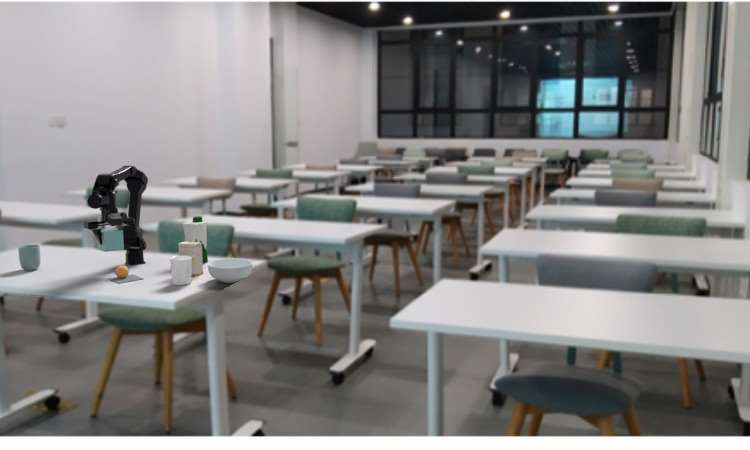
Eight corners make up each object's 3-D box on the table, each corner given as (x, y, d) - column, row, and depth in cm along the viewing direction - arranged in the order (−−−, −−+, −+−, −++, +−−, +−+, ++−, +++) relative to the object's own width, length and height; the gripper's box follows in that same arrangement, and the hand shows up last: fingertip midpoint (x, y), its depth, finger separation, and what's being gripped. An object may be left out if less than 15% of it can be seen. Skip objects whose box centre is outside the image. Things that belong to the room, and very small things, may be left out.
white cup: (173, 280, 256) (172, 255, 254) (194, 280, 256) (193, 255, 255) (169, 285, 248) (168, 260, 246) (190, 285, 249) (189, 259, 247)
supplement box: (203, 273, 268) (202, 242, 266) (196, 276, 263) (195, 244, 261) (186, 271, 271) (185, 240, 268) (179, 274, 266) (178, 242, 264)
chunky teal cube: (116, 246, 271) (115, 228, 270) (123, 249, 266) (122, 230, 265) (97, 249, 266) (96, 230, 265) (105, 251, 261) (103, 232, 259)
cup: (45, 267, 277) (43, 244, 276) (34, 272, 270) (32, 248, 268) (27, 267, 278) (25, 244, 276) (16, 271, 270) (14, 247, 269)
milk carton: (210, 261, 290) (209, 216, 287) (198, 265, 282) (196, 219, 279) (194, 259, 294) (192, 215, 290) (181, 263, 285) (179, 218, 282)
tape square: (132, 274, 265) (132, 274, 265) (143, 279, 258) (143, 278, 258) (108, 278, 258) (108, 278, 258) (118, 283, 251) (118, 283, 251)
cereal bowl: (209, 287, 247) (208, 268, 246) (207, 276, 262) (207, 259, 261) (254, 284, 251) (254, 266, 250) (250, 274, 267) (250, 257, 266)
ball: (131, 270, 259) (129, 279, 261) (127, 262, 261) (125, 271, 264) (119, 272, 255) (117, 281, 258) (114, 263, 258) (112, 273, 261)
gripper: (92, 209, 251) (95, 249, 253) (139, 205, 263) (141, 243, 266) (81, 206, 259) (84, 245, 261) (127, 202, 271) (130, 239, 274)
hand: (110, 243), depth 265 cm, fingers closed on chunky teal cube, 8 cm apart
